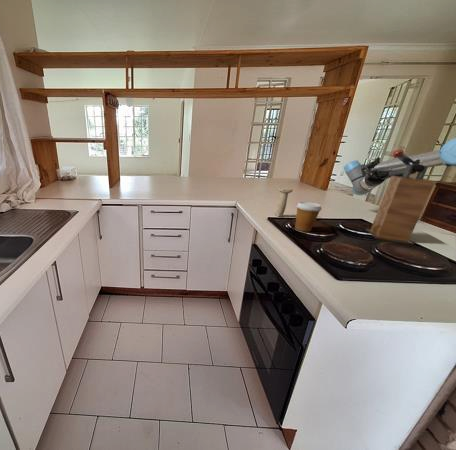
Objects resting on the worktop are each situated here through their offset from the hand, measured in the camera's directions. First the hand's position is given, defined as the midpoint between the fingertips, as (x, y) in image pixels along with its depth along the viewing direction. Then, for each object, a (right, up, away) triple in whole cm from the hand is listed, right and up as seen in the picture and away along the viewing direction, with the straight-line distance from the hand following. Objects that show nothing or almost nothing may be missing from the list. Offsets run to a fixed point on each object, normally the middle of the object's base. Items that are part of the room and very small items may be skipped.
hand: (398, 161), depth 104 cm
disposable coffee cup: (-40, -31, +4) cm, 50 cm away
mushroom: (-41, -24, +23) cm, 52 cm away
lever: (-2, -3, -5) cm, 6 cm away
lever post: (-7, -34, -2) cm, 35 cm away
